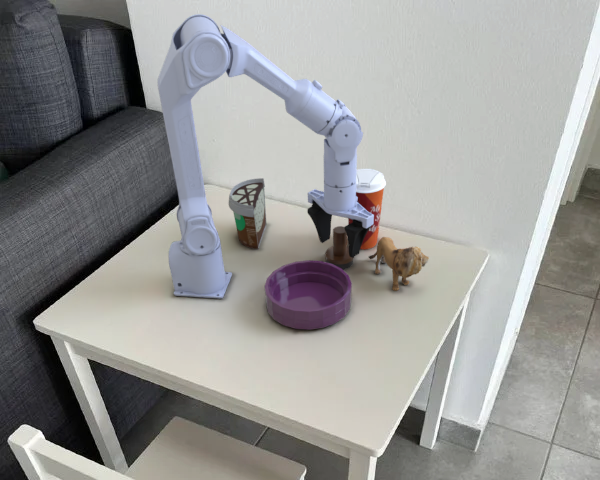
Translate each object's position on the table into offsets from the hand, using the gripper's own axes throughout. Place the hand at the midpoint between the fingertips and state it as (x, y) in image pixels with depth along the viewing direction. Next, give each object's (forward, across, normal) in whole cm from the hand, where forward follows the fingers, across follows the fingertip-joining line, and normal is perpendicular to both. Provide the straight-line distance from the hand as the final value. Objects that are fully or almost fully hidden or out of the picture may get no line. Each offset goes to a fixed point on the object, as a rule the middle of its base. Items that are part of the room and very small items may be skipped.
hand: (339, 247), depth 119 cm
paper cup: (+4, +2, -9) cm, 10 cm away
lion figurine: (+4, -11, -3) cm, 12 cm away
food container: (+4, +21, +5) cm, 22 cm away
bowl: (+3, -5, +14) cm, 15 cm away
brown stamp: (+3, 0, 0) cm, 3 cm away
